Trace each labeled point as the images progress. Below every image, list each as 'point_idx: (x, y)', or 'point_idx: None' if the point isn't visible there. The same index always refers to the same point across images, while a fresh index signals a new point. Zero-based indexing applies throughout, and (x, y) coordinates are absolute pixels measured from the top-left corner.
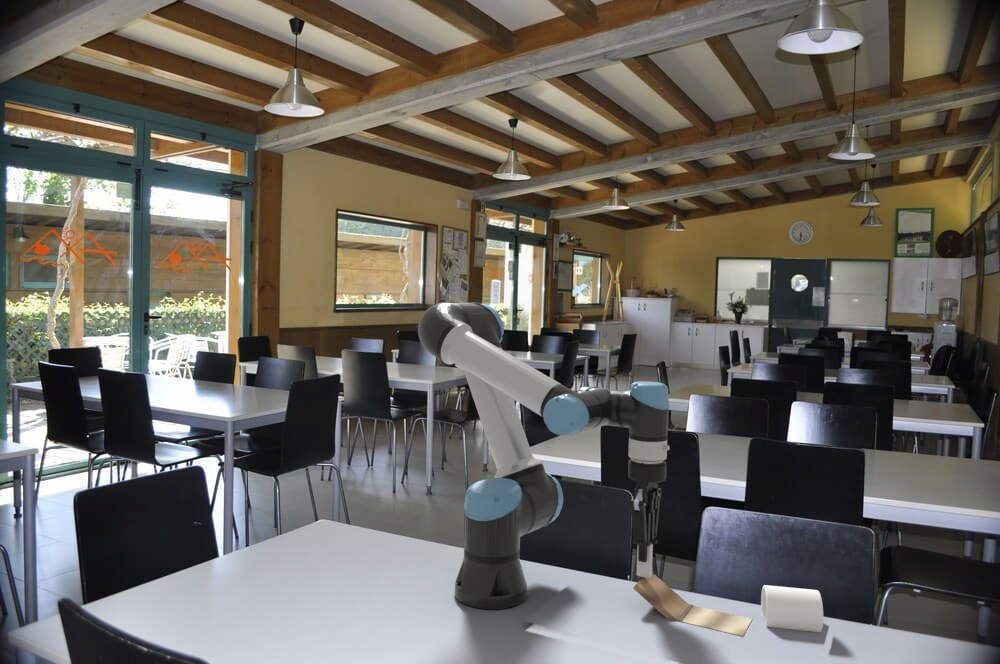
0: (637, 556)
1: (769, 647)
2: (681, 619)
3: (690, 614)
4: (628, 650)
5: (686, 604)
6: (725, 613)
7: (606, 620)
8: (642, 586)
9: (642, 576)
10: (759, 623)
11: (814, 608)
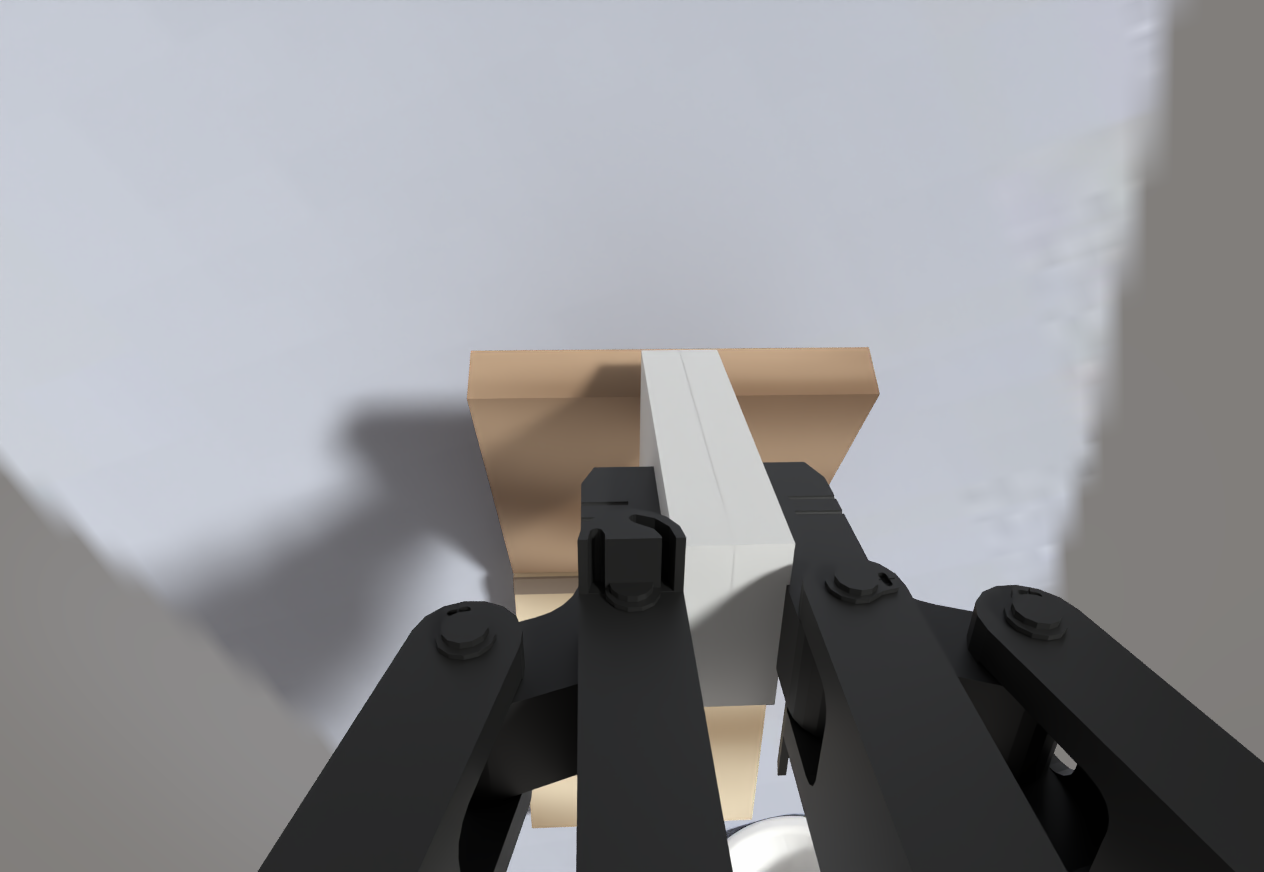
0: (658, 450)
1: (565, 865)
2: (530, 590)
3: None
4: (29, 419)
5: None
6: (755, 727)
7: (313, 132)
8: (519, 428)
9: (640, 409)
10: (793, 802)
11: None
